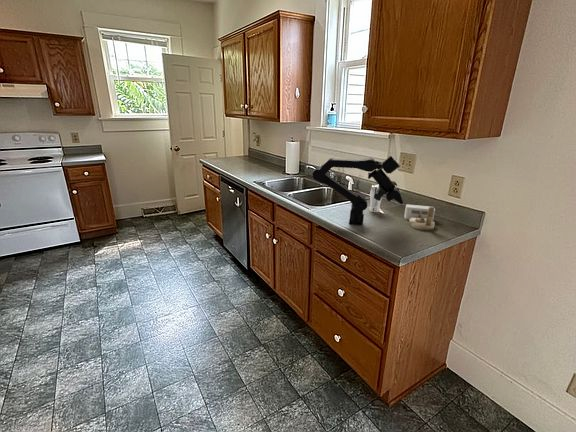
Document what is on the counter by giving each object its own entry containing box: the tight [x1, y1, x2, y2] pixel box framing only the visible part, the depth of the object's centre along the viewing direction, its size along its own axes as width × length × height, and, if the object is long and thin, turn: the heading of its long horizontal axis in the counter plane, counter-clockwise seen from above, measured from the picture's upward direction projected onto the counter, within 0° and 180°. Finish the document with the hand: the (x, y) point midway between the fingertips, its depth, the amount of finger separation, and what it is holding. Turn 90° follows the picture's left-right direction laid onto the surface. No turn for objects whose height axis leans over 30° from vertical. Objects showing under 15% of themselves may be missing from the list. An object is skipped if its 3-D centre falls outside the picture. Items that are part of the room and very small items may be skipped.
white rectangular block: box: [403, 203, 436, 221], centre depth 168 cm, size 14×6×7 cm, turn 77°
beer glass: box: [368, 183, 383, 214], centre depth 178 cm, size 7×7×15 cm
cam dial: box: [408, 206, 436, 231], centre depth 158 cm, size 12×12×12 cm
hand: (402, 203), depth 154 cm, fingers closed
